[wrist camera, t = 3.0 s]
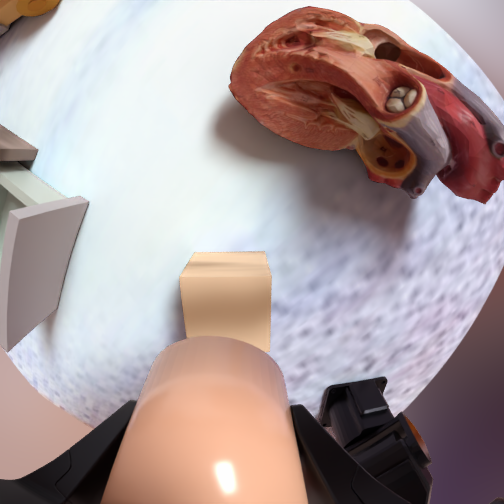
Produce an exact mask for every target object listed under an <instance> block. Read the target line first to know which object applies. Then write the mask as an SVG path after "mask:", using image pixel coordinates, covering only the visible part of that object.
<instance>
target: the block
mask: <svg viewBox="0 0 504 504" xmlns="http://www.w3.org/2000/svg"><path fill="white" fill-rule="evenodd" d="M179 280H180V289H181V298H182V307H183V315H184V323H185V330H186V337H187V338H191V337H198V336H222V337H228V338H233V339H237V340H241V341H243V342H246V343H249V344H251V345H253V346H255V347H257V348H259V349H261V350H262V351H264V352H270V324H271V280H272V276H271V272H270V269H269V265H268V262H267V258H266V254H265V251H258V252H194V254H193V256H192V257H191V259H190V260H189V262H188V264H187V265H186V267H185V269H184V270H183V272H182V273H181V275H180V277H179Z"/></svg>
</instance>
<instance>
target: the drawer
mask: <svg viewBox="0 0 504 504" xmlns="http://www.w3.org/2000/svg"><path fill="white" fill-rule="evenodd" d="M88 203H89V201H87V200H86V199H84V198H83V197H81V196H77V197H71V198H67V197H65V196H64V195H63V194H61V193H60V192H58V191H57V190H55V189H54V188H52V187H51V186H50V185H48V184H47V183H45V182H44V181H43V180H41V179H40V178H38V177H37V176H36V175H34V174H33V173H32V172H30V171H29V170H27V169H26V168H25V167H23V166H22V165H21V164H19V163H18V162H17V161H16V162H0V346H1V347H2V348H3V349H4V350H5V351H6V352H7V353H8V352H9V351H10V350H11V349H12V348H13V347H14V346H15V345H16V344H17V343H18V342H20V341H21V340H22V339H23V338H24V337H25V336H26V335H27V334H28V333H29V332H31V331H32V330H33V329H34V328H35V327H36V326H37V325H38V324H40V323H41V322H42V321H43V320H44V319H45V318H46V317H48V316H49V315H50V314H51V313H52V312H53V311H55V310H56V309H57V307H58V302H59V297H60V293H61V289H62V285H63V281H64V277H65V273H66V269H67V265H68V262H69V258H70V255H71V252H72V248H73V245H74V242H75V239H76V236H77V233H78V230H79V227H80V224H81V222H82V219H83V216H84V213H85V211H86V208H87V206H88Z"/></svg>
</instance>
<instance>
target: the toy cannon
mask: <svg viewBox="0 0 504 504" xmlns="http://www.w3.org/2000/svg"><path fill="white" fill-rule="evenodd" d="M58 3H59V0H0V36H1V35H2V34H3V33H5V32H6V31H7V30H9V27H10V24H11V23H12V22H13V21H15V20H16V19H17V18H19V17H20V16H22V15H24V16H38V15H43V14H45V13H46V12H48V11H50V10H52V9H53V8H55V7H56V6H57V4H58Z"/></svg>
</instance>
